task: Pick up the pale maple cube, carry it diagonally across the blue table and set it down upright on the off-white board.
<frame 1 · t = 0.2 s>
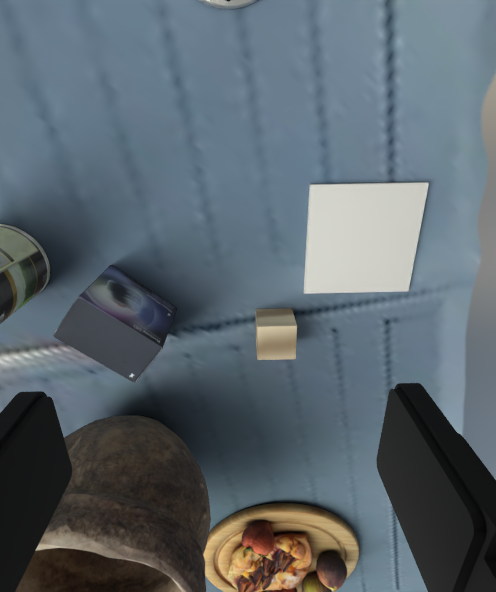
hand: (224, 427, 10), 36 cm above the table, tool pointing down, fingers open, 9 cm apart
off-white board: (361, 240, 45), on the table
wooden plate with food: (278, 548, 73), on the table
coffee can: (10, 261, 46), on the table
maple cube: (273, 324, 50), on the table
small box: (134, 301, 49), on the table
clay pot: (137, 433, 59), on the table
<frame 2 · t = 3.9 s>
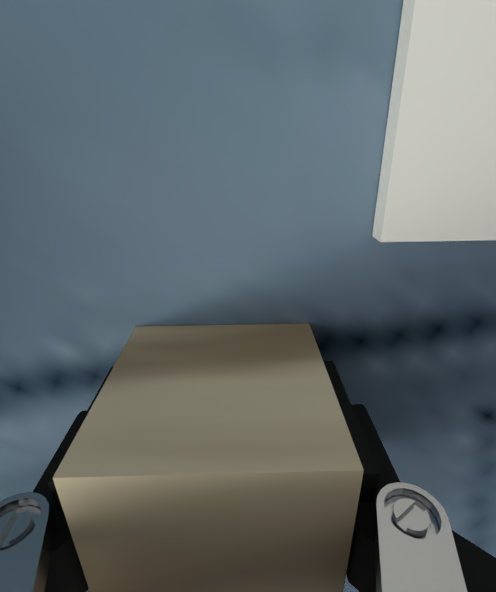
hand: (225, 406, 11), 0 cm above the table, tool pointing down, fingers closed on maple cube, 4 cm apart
maple cube: (225, 394, 11), on the table, touching gripper
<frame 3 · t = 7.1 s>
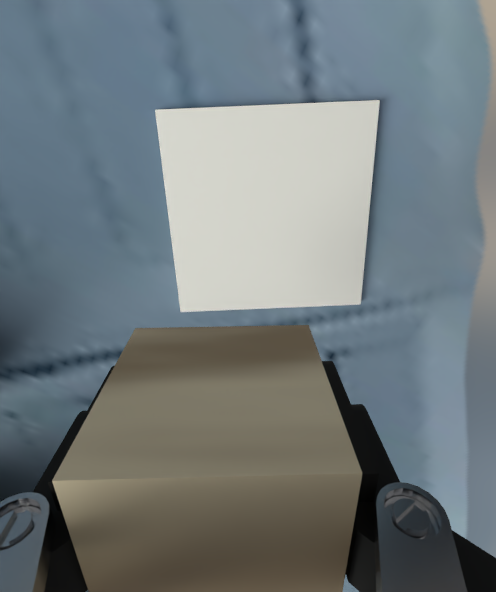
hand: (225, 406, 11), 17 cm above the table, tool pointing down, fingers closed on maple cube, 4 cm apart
off-white board: (268, 216, 26), on the table
maple cube: (225, 395, 11), point 16 cm above the table, touching gripper
when the fingers open (3 cm above the table, at t = 10.6 s): maple cube drops 1 cm, resting on off-white board.
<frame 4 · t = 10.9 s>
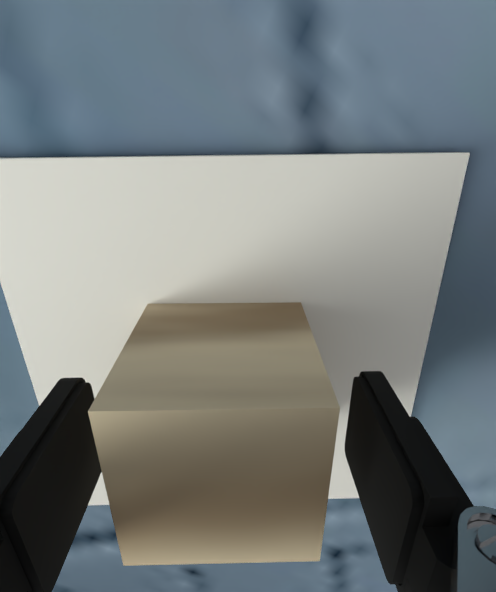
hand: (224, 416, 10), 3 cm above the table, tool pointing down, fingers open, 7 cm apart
off-white board: (227, 357, 13), on the table
maple cube: (226, 366, 13), point 1 cm above the table, touching off-white board
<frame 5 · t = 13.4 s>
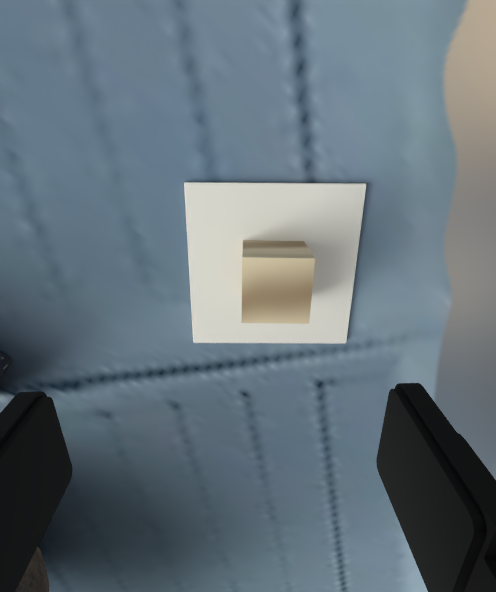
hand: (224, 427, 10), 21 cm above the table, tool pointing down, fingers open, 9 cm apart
off-white board: (271, 268, 31), on the table
maple cube: (272, 269, 30), point 1 cm above the table, touching off-white board
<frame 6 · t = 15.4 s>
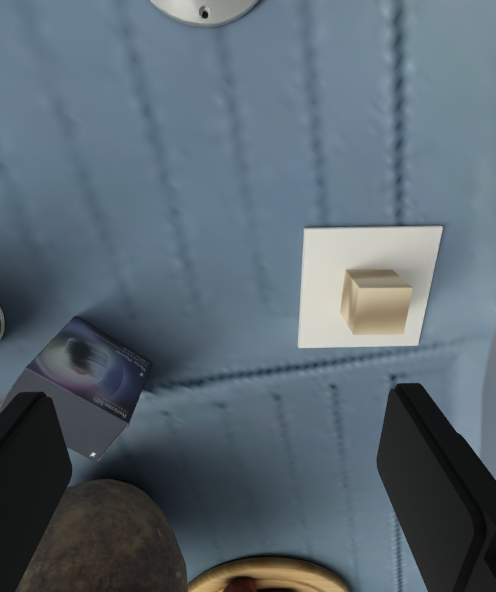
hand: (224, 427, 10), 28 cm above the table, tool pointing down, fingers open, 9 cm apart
off-white board: (364, 289, 39), on the table
maple cube: (365, 291, 39), point 1 cm above the table, touching off-white board
small box: (104, 355, 42), on the table
clay pot: (111, 495, 52), on the table
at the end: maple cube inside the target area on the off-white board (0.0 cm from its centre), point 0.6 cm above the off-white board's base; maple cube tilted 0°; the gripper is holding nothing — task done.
